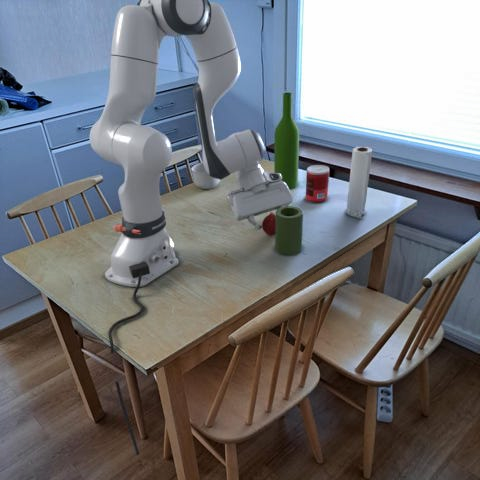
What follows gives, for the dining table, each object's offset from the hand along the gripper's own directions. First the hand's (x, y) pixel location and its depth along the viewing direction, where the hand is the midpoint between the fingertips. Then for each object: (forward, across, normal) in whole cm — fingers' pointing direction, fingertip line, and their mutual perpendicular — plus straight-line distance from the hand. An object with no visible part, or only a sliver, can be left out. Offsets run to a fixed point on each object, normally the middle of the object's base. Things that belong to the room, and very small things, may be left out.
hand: (272, 224), depth 143 cm
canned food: (-7, +29, +14) cm, 33 cm away
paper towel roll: (+5, +32, +1) cm, 32 cm away
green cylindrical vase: (+9, 0, -3) cm, 10 cm away
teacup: (-33, +4, +39) cm, 51 cm away
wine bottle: (-19, +28, +26) cm, 42 cm away
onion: (+2, 0, +4) cm, 4 cm away
